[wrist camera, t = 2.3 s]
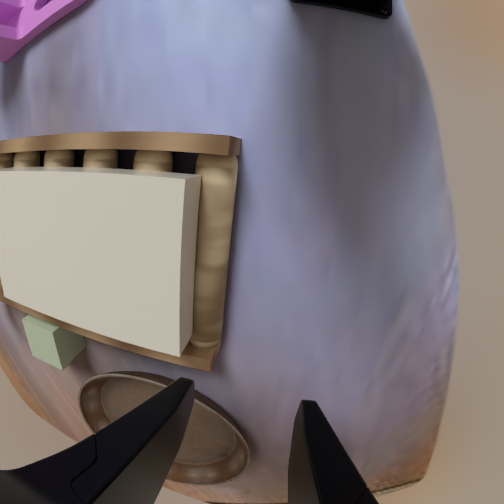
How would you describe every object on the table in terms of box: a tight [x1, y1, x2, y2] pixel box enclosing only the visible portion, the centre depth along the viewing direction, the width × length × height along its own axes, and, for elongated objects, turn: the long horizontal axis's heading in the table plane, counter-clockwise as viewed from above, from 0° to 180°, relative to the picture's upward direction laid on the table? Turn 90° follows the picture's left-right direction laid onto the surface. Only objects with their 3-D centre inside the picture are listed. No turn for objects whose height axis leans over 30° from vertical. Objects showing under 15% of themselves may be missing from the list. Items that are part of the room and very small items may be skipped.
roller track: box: [0, 132, 241, 372], centre depth 18 cm, size 26×14×6 cm, turn 83°
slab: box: [0, 167, 201, 357], centre depth 17 cm, size 16×10×2 cm, turn 83°
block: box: [22, 314, 86, 370], centre depth 22 cm, size 4×4×4 cm
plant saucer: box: [78, 371, 250, 485], centre depth 25 cm, size 18×18×3 cm
